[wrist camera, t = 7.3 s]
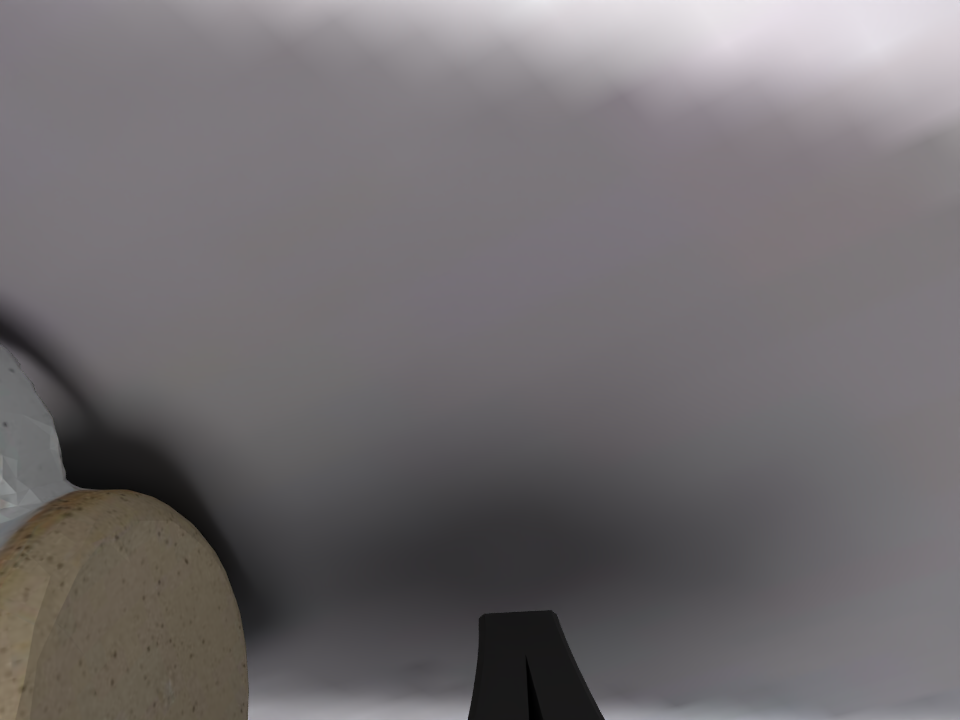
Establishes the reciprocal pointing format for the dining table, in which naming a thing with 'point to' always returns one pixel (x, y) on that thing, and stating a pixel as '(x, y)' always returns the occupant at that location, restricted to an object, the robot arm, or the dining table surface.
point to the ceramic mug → (104, 592)
